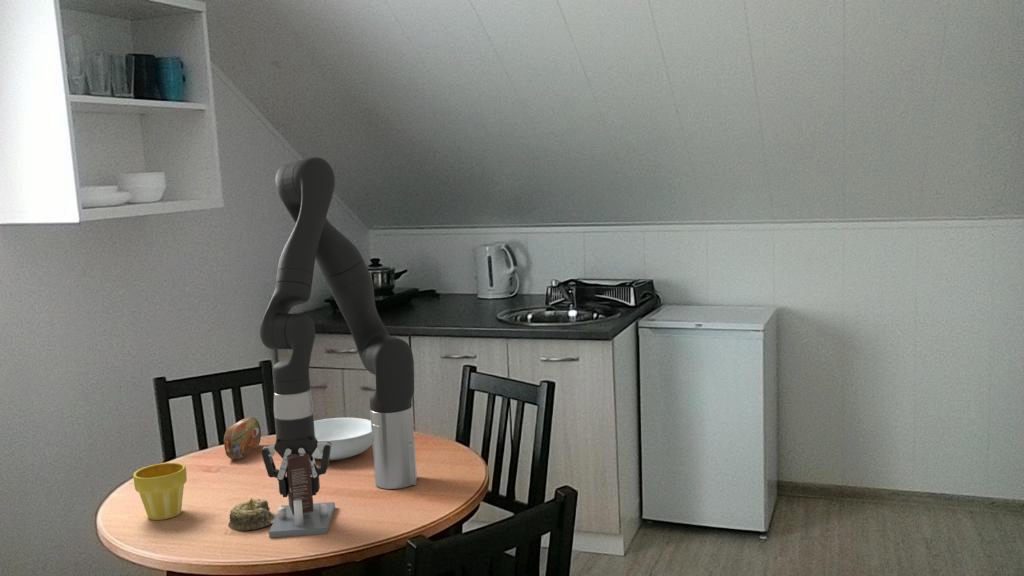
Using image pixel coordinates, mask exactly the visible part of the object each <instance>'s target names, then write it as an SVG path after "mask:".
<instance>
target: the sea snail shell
mask: <svg viewBox="0 0 1024 576" xmlns="http://www.w3.org/2000/svg"><path fill="white" fill-rule="evenodd" d="M270 509H271V508H270V507H269V503H268V501H267V500H265V499H260V498H257V499H253V498H252V497H251V498H250V499H249V500H247V501H244V502H241V503H239V504H236V505H234V506H233V507H232V509H231V510H230V511H229V515H228V516H229V522H228V526H227V527H228V528H229V529H230V530H232V531H236V532H243V531H244V532H247V531H253V530H258V529H261V528H265V527H268V526H270V525H272V524H273V522H274V520H275V518H276V516H277V514H278V513H274V512H271V511H270ZM270 517H271V520H270Z"/></svg>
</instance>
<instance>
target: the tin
mask: <svg viewBox="0 0 1024 576" xmlns="http://www.w3.org/2000/svg"><path fill="white" fill-rule="evenodd" d="M259 422H260V421H258V419H257V418H255V417H253V416H252V417H248V418H247V417H245V418H243V419H242V418H241V420H239V421H237V422H236V423H234V424H232V425H231V426H229V427H228V428H227V429H226V430H225V432H224V435H223V445H224V451H225V455H226V456H227V458H229V459H231V460H237V459H238V460H243V459H244V458H245V457H247V456H248V455H250V454H251V453H252V452H255V451H256V450H257V449H258V447H259V445H260V443H261V438H262V437H261V436H262V434H261V433H262V431H261V426H260V423H259ZM242 458H243V459H242Z"/></svg>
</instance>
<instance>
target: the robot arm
mask: <svg viewBox="0 0 1024 576" xmlns="http://www.w3.org/2000/svg"><path fill="white" fill-rule="evenodd" d="M335 185H336V177H335V172H334V169H333V168H332V166H331V165H330V163H329V162H328V161H327V160H326V159H323V158H321V157H317V156H314V157H308V158H304V159H300V160H296V161H294V162H293V161H292V162H290V163H289V162H288V163H287V164H284V165H281V167H280V168H278V170H277V172H276V174H275V186H276V190H277V194H278V196H279V198H280V201H282V203H283V206H285V207H284V208H285V209H286V210H287V211H288V213H289V215H290V216H291V218H292V219H293V221H294V223H295V225H294V227H293V229H292V230H291V231H292V232H291V233H290V235H289V238H288V239H287V240H286V243H285V245H284V247H283V248H282V249H283V250H282V251H281V253H280V257H279V259H278V265H277V270H276V271H277V272H276V278H275V286H274V290H273V293H272V296H271V298H270V300H269V303H268V305H267V307H266V310H265V312H264V315H263V317H262V319H261V322H260V326H259V337H260V340H261V343H262V344H263V345H264V346H265V347H266V348H268V349H270V350H292V353H291V357H290V359H285V360H281V361H278V362H276V363H275V364H274V365H273V366H272V383H273V416H274V427H275V428H274V429H275V439H276V440H275V443H274V444H272V445H270V446H269V445H264V446H263V448H262V449H261V451H260V454H261V458H262V460H263V463H264V466H265V469H266V473H267V475H268V477H269V478H275V479H277V480H278V490H279V494H280V495H282V497H283V498H288V482H287V473H286V471H287V465H288V463H287V456H289V455H291V454H296V453H299V454H300V455H302V454H307V453H308V454H309V458H310V471H311V483H312V495H313V496H317V493H319V490H320V489H321V483H320V476H321V475H325V474H326V473H327V471H328V468H329V463H330V460H329V457H330V451H331V443H330V442H327V443H320V442H318V441H317V439H316V438H315V431H314V421H315V419H314V405H313V397H312V392H311V382H310V364H311V356H312V352H313V347H314V343H315V339H316V337H315V336H316V326H315V323H314V321H313V320H312V318H311V317H310V316H309V315H308V314H306V313H290V311H291V309H292V308H294V307H296V306H298V305H302V304H305V303H307V302H309V300H310V298H311V294H312V286H313V278H314V270H315V263H317V265H318V268H319V270H320V272H321V274H322V277H323V279H324V281H325V284H326V285H327V288H328V289H329V291H330V293H331V295H332V297H333V298H334V300H335V303H336V305H337V306H338V308H339V311H340V313H341V315H342V316H343V318H344V320H345V322H346V324H347V326H348V328H349V331H350V333H351V335H352V338H353V341H354V344H355V347H356V350H357V353H358V356H359V358H360V361H361V363H362V365H363V366H364V368H365V369H366V371H368V372H369V373H370V374H372V375H373V376H375V393H373V394H372V395H371V396H370V397H369V414H370V421H371V430H372V445H371V446H372V456H373V457H372V458H373V459H372V460H373V470H374V484H375V486H376V487H377V488H380V489H385V490H386V489H387V490H396V489H403V488H407V487H411V486H416V485H417V479H418V472H417V471H418V470H417V458H416V457H417V455H416V453H417V452H416V441H415V439H416V437H415V435H414V434H415V433H414V420H413V405H412V404H413V403H412V401H413V396H414V393H415V364H414V363H415V362H414V361H415V360H414V354H413V350H412V348H411V346H410V345H409V343H407V342H406V340H403V339H401V338H399V337H395V336H391V335H390V333H389V332H388V331H387V328H386V327H385V325H384V323H383V321H382V319H381V317H380V315H379V312H378V310H377V306H376V301H375V289H374V283H373V279H372V276H371V273H370V271H369V269H368V266H367V264H366V262H365V260H364V258H363V256H362V253H361V252H360V250H359V249H358V248H357V246H356V245H355V244H354V243H353V242H352V241H351V240H350V239H349V238H347V236H345V235H344V234H343V233H342V232H341V231H339V230H338V229H337V228H336V227H335V226H334V225H333V224H332V222H330V221H329V219H328V218H327V216H328V213H329V209H330V206H331V202H332V199H333V196H334V192H335ZM316 448H318V449H319V452H320V454H323V456H322V459H321V464H320V466H319V467H318V466H317V463H316V460H315V459H316V458H314V457H313V455H312V454H313V453H314V451H315V450H316ZM275 452H276V453H277V454H278V455H279V457H281V458H282V459H281V460H282V461H281V464H280V467H279V469H277V467H276V464H275V461H274V458H273V456H274V455H275Z"/></svg>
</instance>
